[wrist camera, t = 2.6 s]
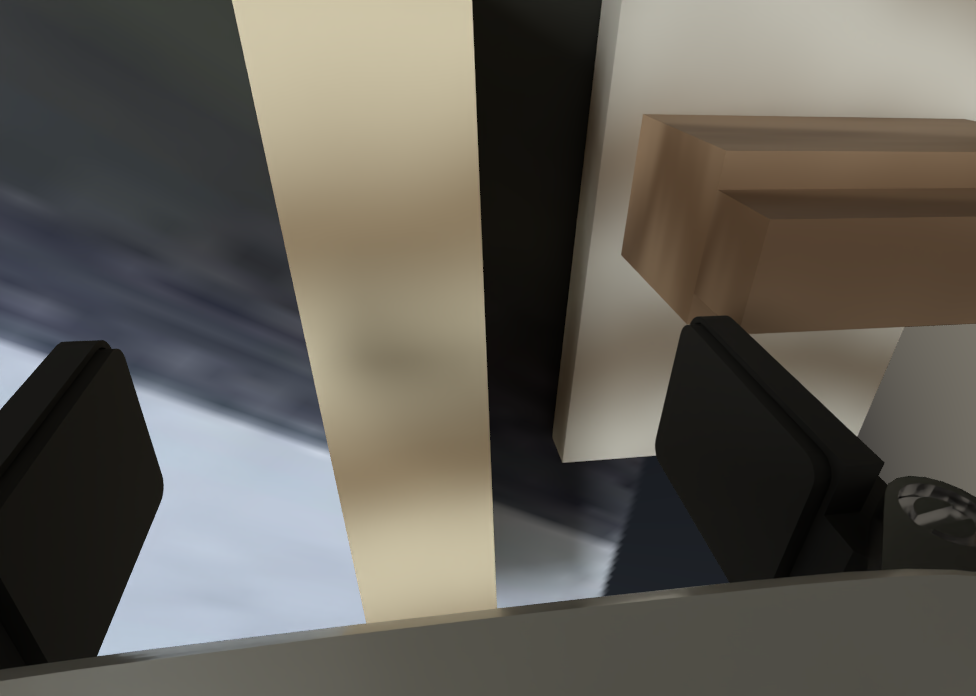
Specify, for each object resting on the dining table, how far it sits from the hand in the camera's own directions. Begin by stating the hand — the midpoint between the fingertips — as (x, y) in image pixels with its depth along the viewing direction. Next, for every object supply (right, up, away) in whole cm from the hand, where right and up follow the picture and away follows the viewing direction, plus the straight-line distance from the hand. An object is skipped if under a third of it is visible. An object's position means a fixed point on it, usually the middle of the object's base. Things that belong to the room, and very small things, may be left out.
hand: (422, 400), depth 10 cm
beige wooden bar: (-2, +1, +10) cm, 10 cm away
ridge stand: (+10, +6, +9) cm, 15 cm away
